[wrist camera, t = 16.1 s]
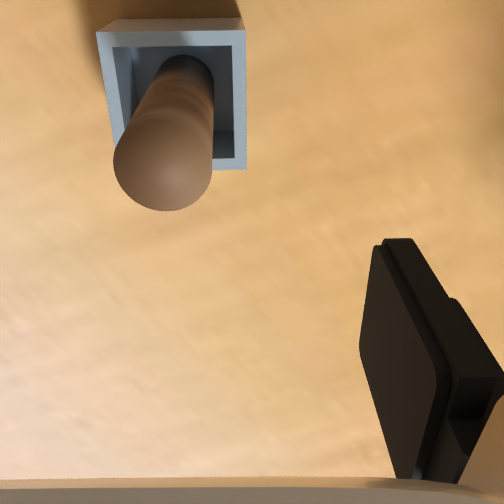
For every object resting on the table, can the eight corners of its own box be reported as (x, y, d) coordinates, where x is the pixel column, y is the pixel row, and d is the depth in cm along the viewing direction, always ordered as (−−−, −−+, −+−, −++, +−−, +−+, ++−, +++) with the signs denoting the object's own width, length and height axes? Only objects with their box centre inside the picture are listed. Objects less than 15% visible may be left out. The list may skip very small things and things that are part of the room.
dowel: (213, 54, 25) (209, 117, 15) (215, 115, 27) (214, 209, 16) (152, 54, 25) (105, 119, 15) (158, 115, 26) (121, 212, 16)
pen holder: (243, 137, 28) (247, 169, 24) (134, 139, 28) (118, 172, 24) (241, 17, 25) (245, 30, 20) (117, 18, 24) (95, 32, 20)
